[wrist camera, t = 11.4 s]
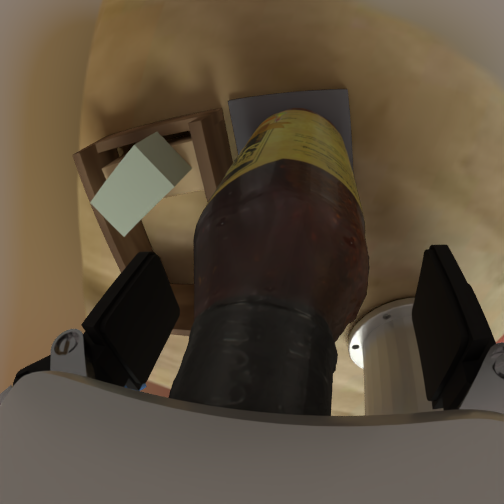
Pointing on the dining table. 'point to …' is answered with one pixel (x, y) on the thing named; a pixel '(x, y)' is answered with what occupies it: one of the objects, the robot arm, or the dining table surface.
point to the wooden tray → (125, 248)
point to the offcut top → (139, 182)
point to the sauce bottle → (276, 272)
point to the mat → (319, 101)
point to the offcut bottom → (187, 152)
